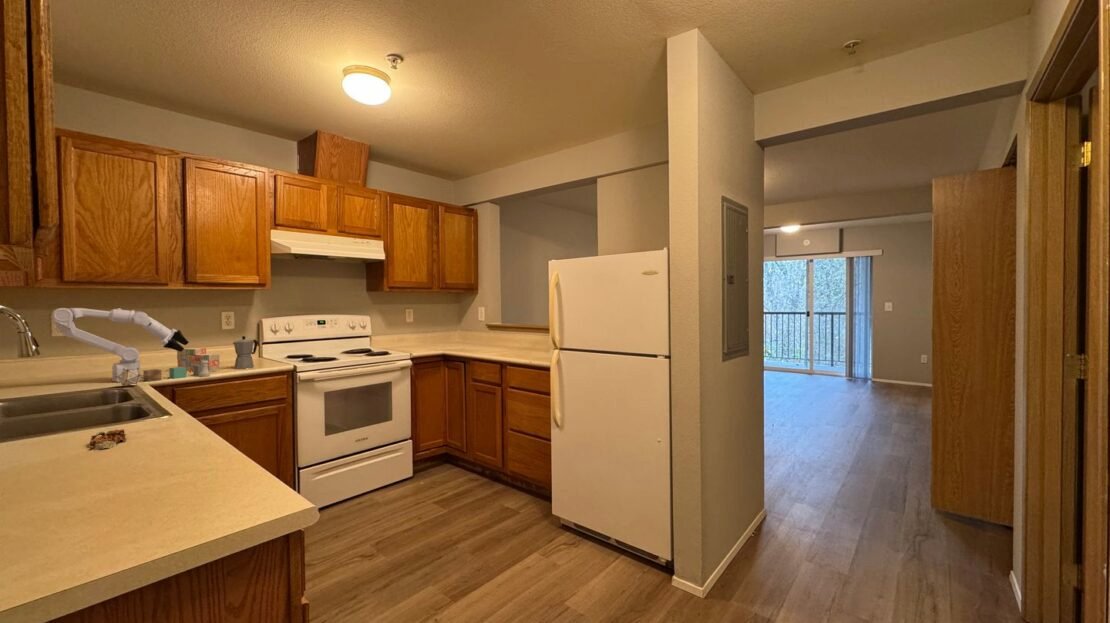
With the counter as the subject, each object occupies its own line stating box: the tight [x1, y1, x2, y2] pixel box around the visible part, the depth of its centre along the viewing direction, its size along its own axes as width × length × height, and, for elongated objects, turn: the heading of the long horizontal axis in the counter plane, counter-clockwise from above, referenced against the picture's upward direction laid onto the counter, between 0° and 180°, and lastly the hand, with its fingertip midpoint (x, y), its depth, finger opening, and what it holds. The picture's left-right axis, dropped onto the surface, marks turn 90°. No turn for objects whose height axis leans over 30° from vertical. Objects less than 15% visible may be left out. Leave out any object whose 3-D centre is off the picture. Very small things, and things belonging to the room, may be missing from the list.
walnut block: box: [142, 368, 162, 383], centre depth 220 cm, size 5×5×5 cm
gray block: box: [192, 365, 211, 377], centre depth 238 cm, size 5×5×5 cm
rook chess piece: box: [199, 360, 211, 378], centre depth 232 cm, size 4×4×8 cm
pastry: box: [88, 429, 127, 452], centre depth 118 cm, size 7×12×4 cm, turn 43°
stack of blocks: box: [176, 347, 220, 373], centre depth 252 cm, size 21×6×12 cm, turn 76°
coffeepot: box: [232, 335, 259, 370], centre depth 263 cm, size 15×9×18 cm, turn 165°
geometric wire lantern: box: [116, 368, 144, 386], centre depth 204 cm, size 9×8×10 cm
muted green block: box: [168, 366, 187, 380], centre depth 229 cm, size 5×5×5 cm
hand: (185, 347), depth 235 cm, fingers open, 7 cm apart
